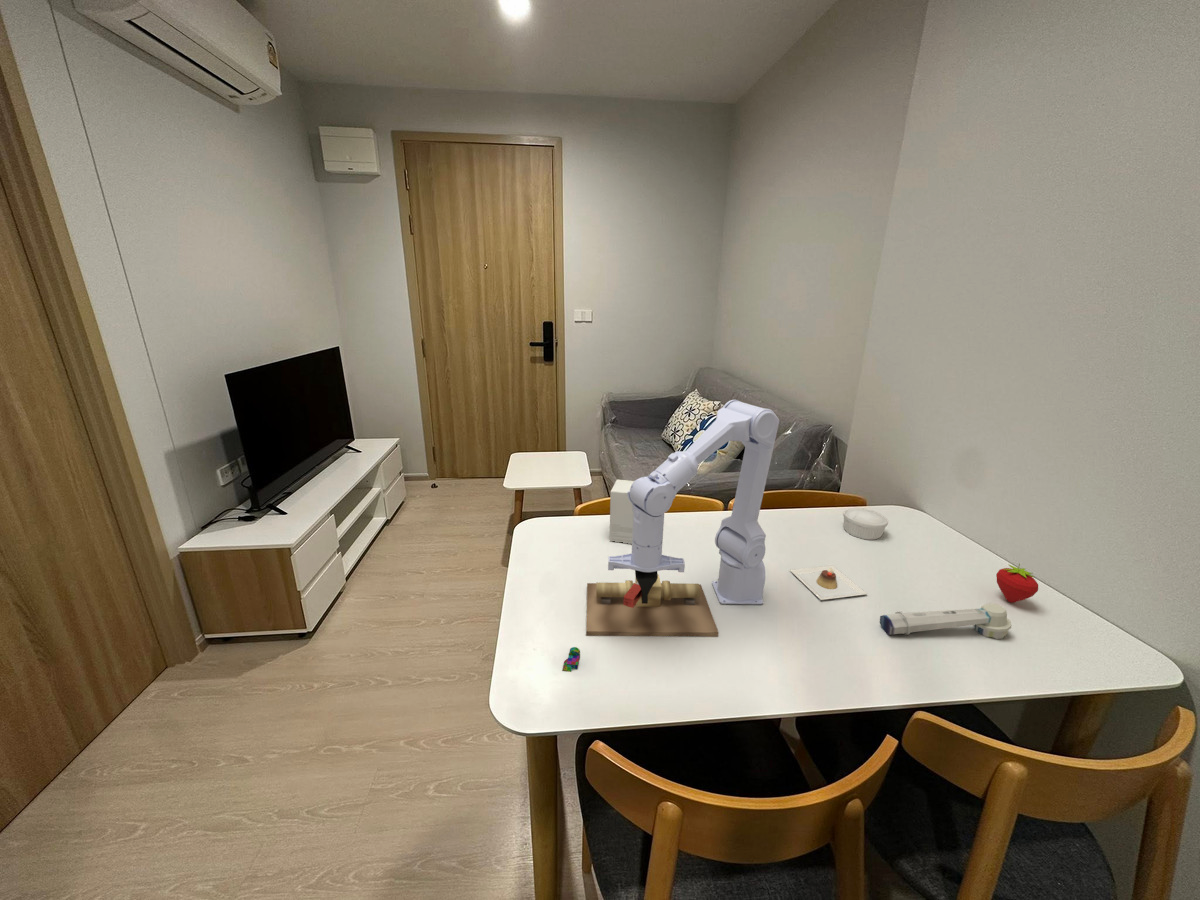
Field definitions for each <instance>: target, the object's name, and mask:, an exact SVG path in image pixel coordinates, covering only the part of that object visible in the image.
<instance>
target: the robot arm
mask: <svg viewBox="0 0 1200 900" xmlns="http://www.w3.org/2000/svg"><path fill="white" fill-rule="evenodd" d="M715 416H716V417H715V420H714V421H713V422H712V423H711V424H710V425H709V426H707V428H706V430H704V431H703V432H702V434H700V435H699V436H698V438H697V439H696V440H695V441H694V442H693V443H692V444H691V445H690V446H689V447H688V448H687V449H686V450H684V451H682V450H681V451H680V450H678V451H677V450H676V451H675V452H671V454H669V455H668V456H667V459H666V460H664V462H662V463H661V464H660V465H659V466H658V467H657V468H656V469H654V470H653V471H652V472H650V474H648V475H647V476H641V477H639V478H637V479H635V480H633V481H634V482H633V484H632V485H631V488H630V491H628V492H627V495H628V499H629V500H630V502H631V503H632V511H633V532H632V544H631V553H626V554H621V555H614V556H613V555H611V556H610V555H608V557H607V558H608V559H607V560H608V561H607V562H608V564H607V569H608V570H607V571H614V569H615V570H616V569H617V570H619V569H620V570H633V571H634V575H635V579H637V582H638V583H639V585H640V588H641V590H642V592H641V599H642V604H647V603H648V593H649V591H650V589H651V588H652V586H653V585H654V583H655V582H656V581H657V578H658V575H659V574H658V572H660V571H677V572H679V573H685V568H686V564H685V559H684V558H683V557H674V556H670V555H665V554H663V539H664V526H665V525H664V523H665V513H667V512H668V511H669V510H670V508H671V507H672V504H673V502H674V500H675V498H676V496H677V493H679V491H680V490H681V489H682V488H684V487H685V486H686V485H687V484H688V483H689V482H690V481H691V480H693V478H694V477H695V476H697V474H698V469H699V465H700V464H701V463H702V462H704V460H706V459H707V458H708V457H710V456H711V455H713V454H714V453H715V452H716V451H718V450H719V449H720V448H721V447H723V446H725V444H727V443H728V442H730V441H731V442H741V444H742V445H743V446H744V453H743V457H742V461H741V466H740V472H739V476H738V481H737V486H736V491H735V497H734V502H733V505H732V506H733V507H732V509H731V510H732V511H731V515H730V516H728V517H725V518H722V520H721V523H720V526H719V528H718V530H717V532H716V535H715V537H714V543H715V546H716V548H718V549H719V550H718V554H719V555H720V561H719V570H718V577H717V578H718V579H717V580H713V581H711V585H712V587H713V590H714V592H715V595H716V597H717V600H718V602H719V604H720V605H721V604H722V605H763V604H764V601H763V597H764V596H763V594H764V590H765V589H764V588H765V583H766V566H765V562H764V558H765V555H766V544H765V543H766V542H765V541H766V537H767V535H766V533H765V531H764V530H763V528H762V526H761V525H760V523H759V521H758V520H759V515H760V512H761V507H762V502H763V497H764V494H765V493H764V492H765V488H766V484H767V481H768V475H769V471H770V466H771V461H772V456H773V451H774V448H775V442H776V438H777V433H778V429H779V425H780V419H779V417H778V416H777V415H776V413H775V412H774V410H772V409H770V408H764V407H761V406H756V405H754V404H749V403H746V402H742V401H740V400H738V399H732V400H731V399H730V400H728V401H727V402H726V403H725V404H724V405H723V407H721V408H719V409H718V410H717V412H716V415H715Z"/></svg>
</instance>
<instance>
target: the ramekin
mask: <svg viewBox="0 0 1200 900" xmlns="http://www.w3.org/2000/svg"><path fill="white" fill-rule="evenodd" d="M842 516H843V528H844V530H845V531H846V533H847V534H849V535H851V536H853V537H855V538H858V539H863V540H869V541H871V540H872V541H873V540H877V539H878V540H879V538H881V537H882V536H883V533H884V531H885V530H886V527H887V526H888V524H889V520H888V518H887V517H886V516H885V515H883V514H881V513H879V512H877V511H874V510H870V509H867V508H860V507H859V508H857V507H851V508H850V507H849V508H846V509H844V511H843V514H842Z"/></svg>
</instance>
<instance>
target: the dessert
mask: <svg viewBox="0 0 1200 900" xmlns="http://www.w3.org/2000/svg"><path fill="white" fill-rule="evenodd" d="M789 572H791V573H792V574H793V575H794V576H795V577H796V578H797V579H798V580H799V581H800V582H802V584H804V585H805V587H807V589H809V591H811V592H812V593H813V594H814V595H815V596H816V597H817V598H818V599H819V600H820V601H824V600H832V599H841V598H842V599H843V598H849V597H857V596H865V595H868V593H867V592H866V591H864V590H863V589H862V588H861V587H860V586H859V585H857V584H856V583H855V582H853V581H852V580H851V579H850V578H849V577H848V576H846V575H845V574H844V573H843V572H841V570H839V569H838V568H837V567H836V566H834V565H824V566H815V567H814V566H813V567H806V568H805V567H804V568H797V569H790V570H789ZM810 573H811V574H812V573H819V576H818V577H817V579H816V584H817V585H818V586H820V587H821V588H823V589H827V590H835V589H837V588H838V581H837V578H839V579H840V580H842V582H844V583H845V584H846V585H848V586H849V587H850V589H853V591H855V592H856V593H851V594H842V595H834V596H825V597H822V596H820V595H819V594H818V593H817V592H816V590H814V589H813V588H812V587H811V586H810V585H809V584H808V583H807V582H806V581H804V580H803V579H802V577H800V574H801V575H803V574H804V575H805V574H810Z"/></svg>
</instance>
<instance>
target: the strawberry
mask: <svg viewBox="0 0 1200 900" xmlns="http://www.w3.org/2000/svg"><path fill="white" fill-rule="evenodd" d="M1008 566H1009V568H1008V567H1004V568H1000V569H999V570H998V571H997V573H996V583H997V586H998V588H999V590H1000V592H1001V593H1002V594H1003V596H1004V598H1005V600H1006V601H1007V602H1008V603H1010V604H1011V603H1012V604H1013V603H1014V604H1015V603H1016V602H1020V601H1024V600H1027V599H1029V598H1031V597H1034V595H1035V594H1036V593H1038V591H1039V583H1038V582H1037V581H1036V579H1035V576H1034V575H1033V574H1034V573H1033V572H1030V571H1027V570H1026V568H1020V566H1021V565H1020V563H1018V567H1015V566H1013V565H1011V564H1008Z"/></svg>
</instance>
